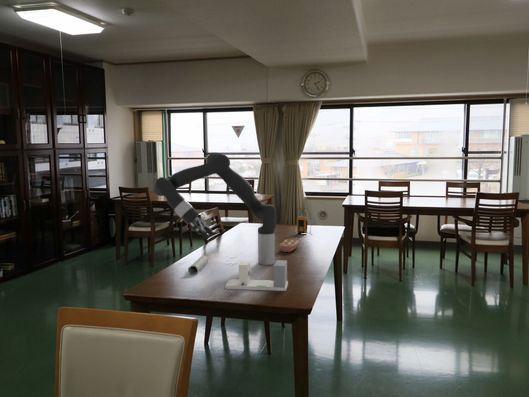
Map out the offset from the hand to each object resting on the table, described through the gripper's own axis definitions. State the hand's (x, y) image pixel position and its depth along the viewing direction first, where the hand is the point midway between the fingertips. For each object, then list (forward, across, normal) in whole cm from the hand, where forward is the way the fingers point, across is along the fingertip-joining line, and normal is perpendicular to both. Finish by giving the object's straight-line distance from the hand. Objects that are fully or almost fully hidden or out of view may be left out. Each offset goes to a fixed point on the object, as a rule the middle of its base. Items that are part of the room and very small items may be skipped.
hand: (210, 236), depth 207 cm
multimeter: (+42, +132, -12) cm, 139 cm away
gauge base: (+32, 0, 0) cm, 32 cm away
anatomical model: (+38, +77, -7) cm, 86 cm away
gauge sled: (+27, -1, +3) cm, 27 cm away
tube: (+7, +28, +26) cm, 39 cm away
